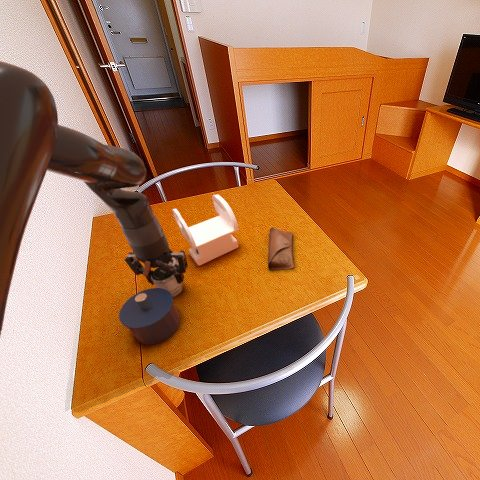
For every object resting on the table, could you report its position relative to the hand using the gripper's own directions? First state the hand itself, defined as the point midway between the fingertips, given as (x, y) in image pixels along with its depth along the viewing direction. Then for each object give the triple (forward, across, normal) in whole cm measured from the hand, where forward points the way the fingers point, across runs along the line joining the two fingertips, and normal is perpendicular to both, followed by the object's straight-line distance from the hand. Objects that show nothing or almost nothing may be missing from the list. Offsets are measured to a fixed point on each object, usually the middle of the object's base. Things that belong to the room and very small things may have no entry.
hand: (167, 281), depth 76 cm
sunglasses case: (+4, +31, +15) cm, 35 cm away
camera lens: (+4, 0, 0) cm, 4 cm away
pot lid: (-4, 0, -11) cm, 12 cm away
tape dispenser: (+4, +9, +16) cm, 19 cm away
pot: (+4, 0, -11) cm, 12 cm away
